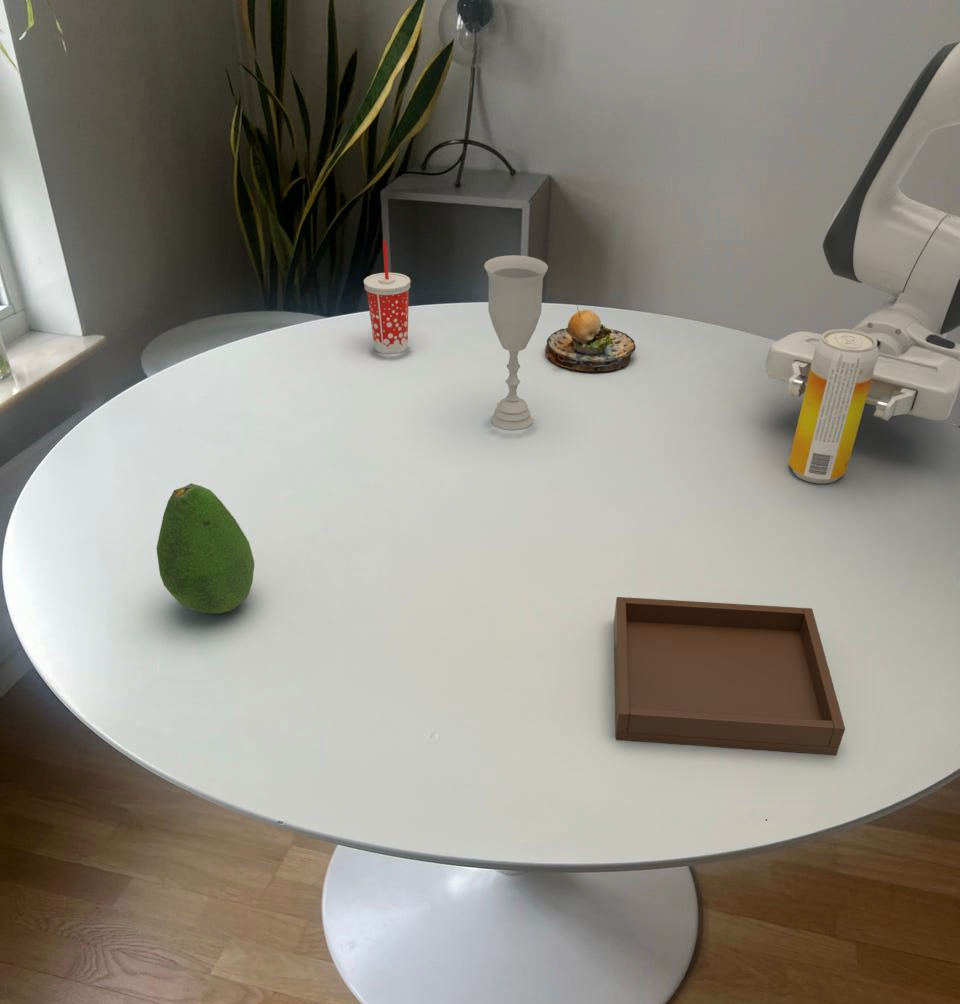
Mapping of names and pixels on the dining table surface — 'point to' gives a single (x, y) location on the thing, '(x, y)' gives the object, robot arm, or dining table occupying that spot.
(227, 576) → the avocado
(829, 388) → the beer can
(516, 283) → the chalice
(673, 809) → the dining table surface
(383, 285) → the beverage cup
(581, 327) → the burger
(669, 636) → the serving tray
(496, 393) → the dining table surface
